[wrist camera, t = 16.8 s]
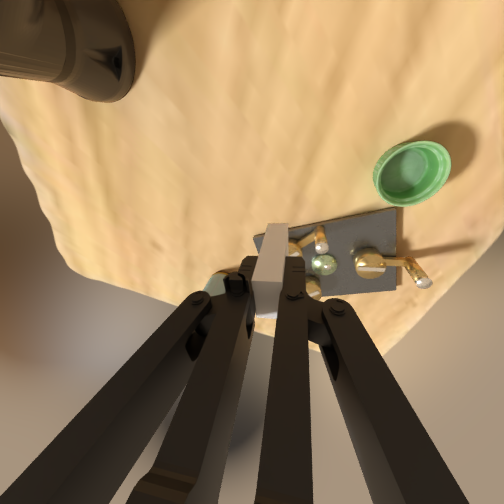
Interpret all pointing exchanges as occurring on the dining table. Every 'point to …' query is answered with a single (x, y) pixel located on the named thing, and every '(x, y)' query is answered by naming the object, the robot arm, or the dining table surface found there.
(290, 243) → the knob
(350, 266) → the control panel
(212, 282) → the bottle
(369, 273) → the knob
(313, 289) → the knob
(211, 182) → the dining table surface
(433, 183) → the ramekin
